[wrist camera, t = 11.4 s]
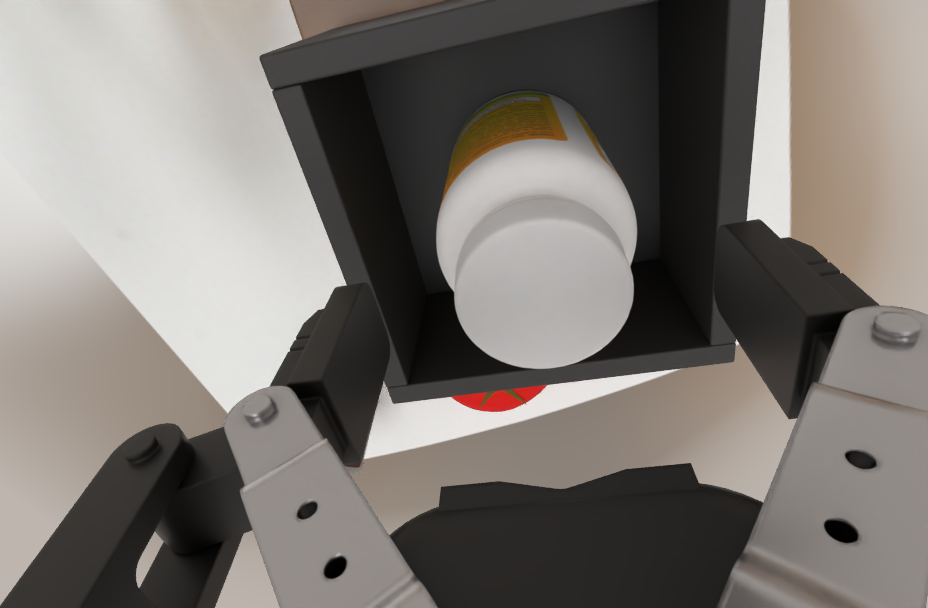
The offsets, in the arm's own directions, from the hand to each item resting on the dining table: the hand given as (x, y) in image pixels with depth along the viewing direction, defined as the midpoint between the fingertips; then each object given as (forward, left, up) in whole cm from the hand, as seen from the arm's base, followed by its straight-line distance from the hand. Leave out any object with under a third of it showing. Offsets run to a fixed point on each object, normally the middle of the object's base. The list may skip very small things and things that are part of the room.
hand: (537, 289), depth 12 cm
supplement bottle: (0, 0, -9) cm, 9 cm away
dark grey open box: (0, 0, -10) cm, 10 cm away
